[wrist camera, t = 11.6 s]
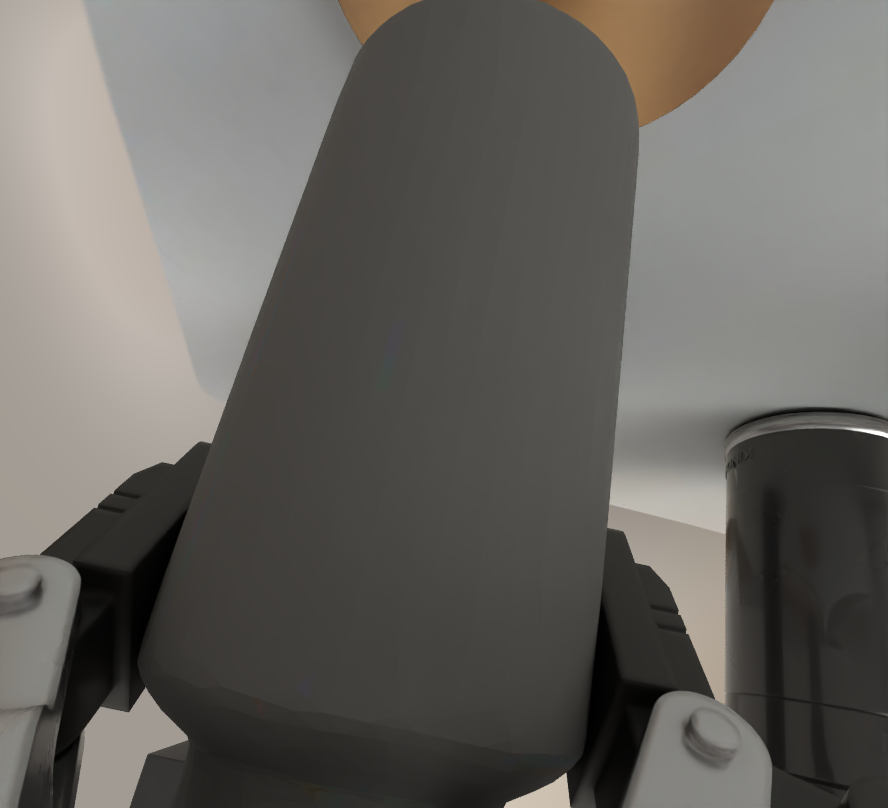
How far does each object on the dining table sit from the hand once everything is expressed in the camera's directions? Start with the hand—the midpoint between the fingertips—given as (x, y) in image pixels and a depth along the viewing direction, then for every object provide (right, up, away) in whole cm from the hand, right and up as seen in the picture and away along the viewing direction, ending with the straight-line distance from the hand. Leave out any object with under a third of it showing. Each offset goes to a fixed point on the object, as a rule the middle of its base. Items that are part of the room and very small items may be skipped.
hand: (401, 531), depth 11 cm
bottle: (+2, +8, +2) cm, 8 cm away
